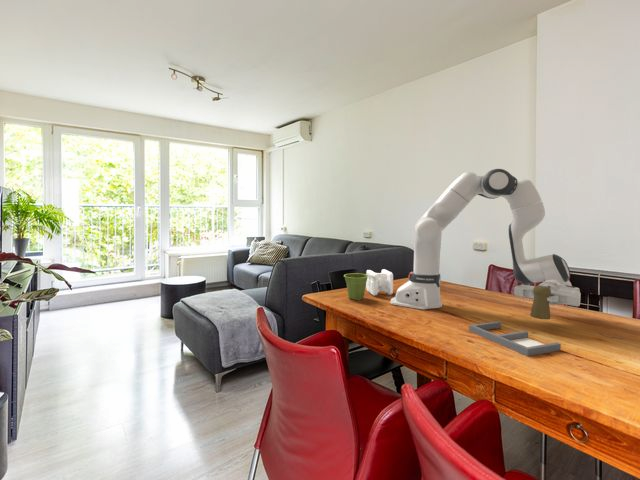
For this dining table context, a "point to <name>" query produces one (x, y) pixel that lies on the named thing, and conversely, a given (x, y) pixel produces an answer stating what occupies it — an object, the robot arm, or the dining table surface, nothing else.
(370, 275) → the cable organizer
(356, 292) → the plant pot
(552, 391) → the dining table surface
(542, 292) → the cork
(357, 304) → the dining table surface
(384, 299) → the dining table surface
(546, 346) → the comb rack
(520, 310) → the dining table surface
